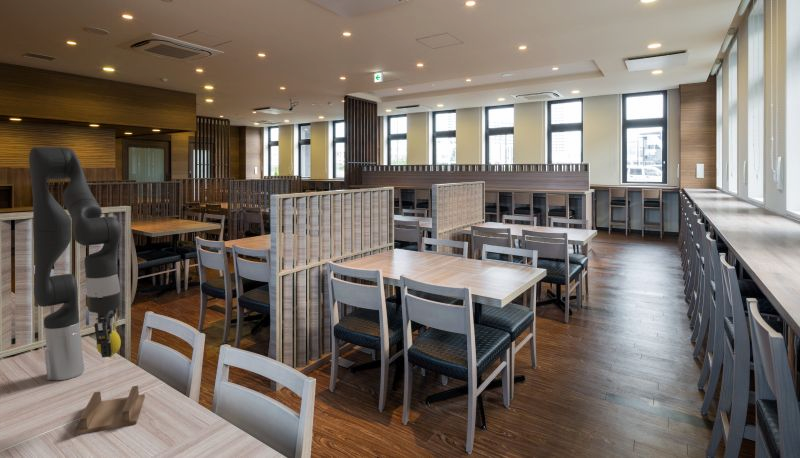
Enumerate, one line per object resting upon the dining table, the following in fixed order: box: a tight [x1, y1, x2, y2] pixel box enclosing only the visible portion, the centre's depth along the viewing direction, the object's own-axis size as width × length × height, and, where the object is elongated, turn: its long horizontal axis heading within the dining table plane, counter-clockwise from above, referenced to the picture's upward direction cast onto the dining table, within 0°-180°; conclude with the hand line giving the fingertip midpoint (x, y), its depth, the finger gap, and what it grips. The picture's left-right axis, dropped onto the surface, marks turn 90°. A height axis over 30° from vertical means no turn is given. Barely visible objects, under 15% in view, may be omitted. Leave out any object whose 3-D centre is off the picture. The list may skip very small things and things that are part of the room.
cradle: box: [73, 385, 146, 436], centre depth 126 cm, size 14×15×4 cm
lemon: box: [96, 330, 122, 358], centre depth 124 cm, size 6×6×8 cm
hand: (109, 352), depth 124 cm, fingers closed on lemon, 5 cm apart
